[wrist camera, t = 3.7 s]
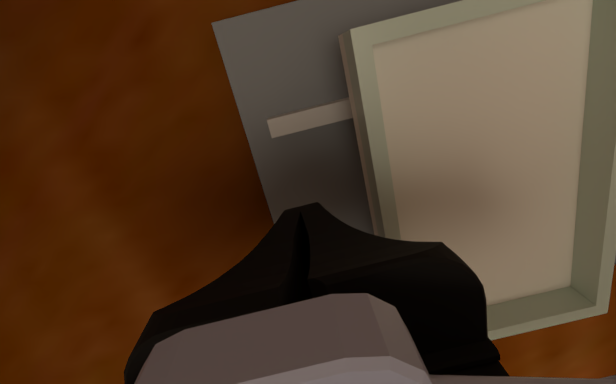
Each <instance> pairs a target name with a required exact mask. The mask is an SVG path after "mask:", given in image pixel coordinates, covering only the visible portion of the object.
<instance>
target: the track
mask: <svg viewBox="0 0 616 384" xmlns="http://www.w3.org/2000/svg"><path fill="white" fill-rule="evenodd" d="M458 1H462V0H298V1H294V2H290V3H286V4H282V5H279V6H275V7H271V8H267V9H263V10H259V11H256V12H252V13H248V14H244V15H240V16H236V17H233V18H229V19H225V20H221V21H217V22H213V23H212V27H213V30H214V33H215V36H216V39H217V43H218V46H219V49H220V52H221V55H222V59H223V62H224V65H225V68H226V72H227V75H228V78H229V81H230V84H231V88H232V91H233V94H234V97H235V100H236V104H237V107H238V110H239V113H240V117H241V120H242V123H243V126H244V129H245V133H246V136H247V139H248V142H249V145H250V149H251V152H252V155H253V158H254V162H255V165H256V168H257V171H258V174H259V178H260V181H261V184H262V187H263V190H264V194H265V197H266V200H267V203H268V206H269V210H270V213H271V216H272V219H273V223H274V224H275V223H276V221H277V220H278V218H279V217H280V215H281V214H282V213H283V211H284V210H287V209H291V208H295V207H299V206H303V205H307V204H311V203H315V202H318V203H320V204H321V205H322V206H323V207H324V208H325V209H326V210H327V211H328V212H330V213H331V214H332V215H333V216H335V217H336V218H338V219H339V220H341V221H342V222H344V223H345V224H347V225H349V226H351V227H353V228H356V229H358V230H361V231H363V232H366V233H369V234H372V235H374V229H373V224H372V218H371V213H370V208H369V202H368V197H367V191H366V186H365V180H364V175H363V169H362V164H361V158H360V153H359V148H358V142H357V137H356V131H355V126H354V120H353V115H352V109H351V104H350V99H349V93H348V88H347V82H346V77H345V71H344V66H343V60H342V55H341V50H340V44H339V39H338V36H339V35H341V34H342V33H344V32H346V31H348V30H350V29H353V28H357V27H361V26H365V25H368V24H372V23H376V22H380V21H384V20H388V19H392V18H396V17H399V16H403V15H407V14H411V13H415V12H419V11H423V10H427V9H431V8H434V7H438V6H442V5H446V4H450V3H454V2H458ZM614 264H616V255H615V262H614Z"/></svg>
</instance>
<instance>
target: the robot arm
mask: <svg viewBox="0 0 616 384" xmlns="http://www.w3.org/2000/svg"><path fill="white" fill-rule="evenodd" d="M498 360H500V354H499V352H498V350H497V348H496V347H495V346H494V344H493V343H492V342H491V340H490V339H489V338H488V329H487V305H486V296H485V291H484V287H483V285H482V283H481V281H480V280H479V278H478V277H477V275H476V274H475V273H474V272H473V270H472V269H471V268H470V267H469V266H468V265H467V264H466V263H465V262H464V261H463V260H462V259H461V258H460V257H459V256H458V255H457V254H456V253H454V252H453V251H452V250H451V249H450V248H448V247H447V246H446V245H445V244H444V243H443V242H419V241H404V240H395V239H390V238H384V237H380V236H376V235H372V234H369V233H366V232H363V231H361V230H358V229H356V228H353V227H351V226H349V225H347V224H345V223H344V222H342V221H341V220H339V219H338V218H336V217H335V216H333V215H332V214H331V213H330V212H328V211H327V210H326V209H325V208H324V207H323V206H322V205H321V204H320V203H318V202H315V203H311V204H307V205H303V206H299V207H295V208H291V209H287V210H284V211H283V213H282V214H281V215H280V217H279V218H278V220H277V221H276V223H275V224H274V225H273V227H272V228H271V229H270V231H269V232H268V233H267V234H266V236H265V237H264V238H263V239H262V240H261V241H260V243H259V244H258V245H257V246H256V247H255V248H254V249H253V250H252V251H251V252H250V253H249V254H248V255H247V256H246V257H245V258H244V259H243V260H241V261H240V262H239V263H238V264H237V265H235V266H234V267H233V268H231V269H230V270H229V271H227V272H226V273H225V274H223V275H222V276H221V277H219V278H218V279H216V280H215V281H213V282H211V283H210V284H208V285H207V286H205V287H203V288H201V289H200V290H198V291H196V292H194V293H193V294H191V295H189V296H187V297H185V298H183V299H181V300H179V301H176V302H174V303H172V304H170V305H168V306H166V307H164V308H162V309H159V310H157V311H155V312H153V314H152V316H151V317H150V319H149V321H148V323H147V325H146V327H145V329H144V330H143V332H142V334H141V336H140V338H139V340H138V342H137V344H136V345H135V347H134V349H133V351H132V353H131V355H130V357H129V359H128V362H127V365H126V368H125V370H124V380H125V384H616V375H613V376H609V377H605V378H600V379H586V378H546V377H510V376H509V375H508V373H507V372H506V371H505V369H504V368H503V367H502V365H501V364H500V362H499V361H498Z"/></svg>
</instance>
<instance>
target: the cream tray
mask: <svg viewBox="0 0 616 384" xmlns="http://www.w3.org/2000/svg"><path fill="white" fill-rule="evenodd" d="M338 39H339V44H340V50H341V55H342V60H343V66H344V71H345V77H346V82H347V88H348V93H349V99H350V104H351V109H352V115H353V120H354V126H355V131H356V137H357V142H358V148H359V153H360V158H361V164H362V169H363V175H364V180H365V186H366V191H367V197H368V202H369V208H370V213H371V218H372V224H373V229H374V235H376V236H380V237H384V238H390V239H395V240H404V241H419V242H443V243H444V244H445V245H446V246H447V247H448V248H450V249H451V250H452V251H453V252H454V253H456V254H457V255H458V256H459V257H460V258H461V259H462V260H463V261H464V262H465V263H466V264H467V265H468V266H469V267H470V268H471V269H472V270H473V272H474V273H475V274H476V275H477V277H478V278H479V280H480V281H481V283H482V285H483V287H484V291H485V296H486V305H487V329H488V338H489V339H490V340H495V339H499V338H503V337H507V336H512V335H516V334H520V333H524V332H529V331H533V330H537V329H541V328H546V327H550V326H554V325H558V324H562V323H567V322H571V321H575V320H579V319H584V318H588V317H592V316H596V315H601V314H605V313H608V306H609V299H610V292H611V284H612V277H613V270H614V262H615V255H616V0H462V1H458V2H454V3H450V4H446V5H442V6H438V7H434V8H431V9H427V10H423V11H419V12H415V13H411V14H407V15H403V16H399V17H396V18H392V19H388V20H384V21H380V22H376V23H372V24H368V25H365V26H361V27H357V28H353V29H350V30H348V31H346V32H344V33H342V34H341V35H339V36H338Z"/></svg>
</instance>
